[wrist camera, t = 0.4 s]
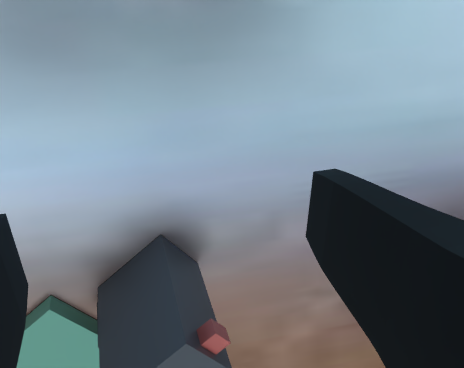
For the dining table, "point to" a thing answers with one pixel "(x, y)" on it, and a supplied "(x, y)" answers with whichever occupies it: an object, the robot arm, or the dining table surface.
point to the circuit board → (59, 338)
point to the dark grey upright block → (159, 314)
